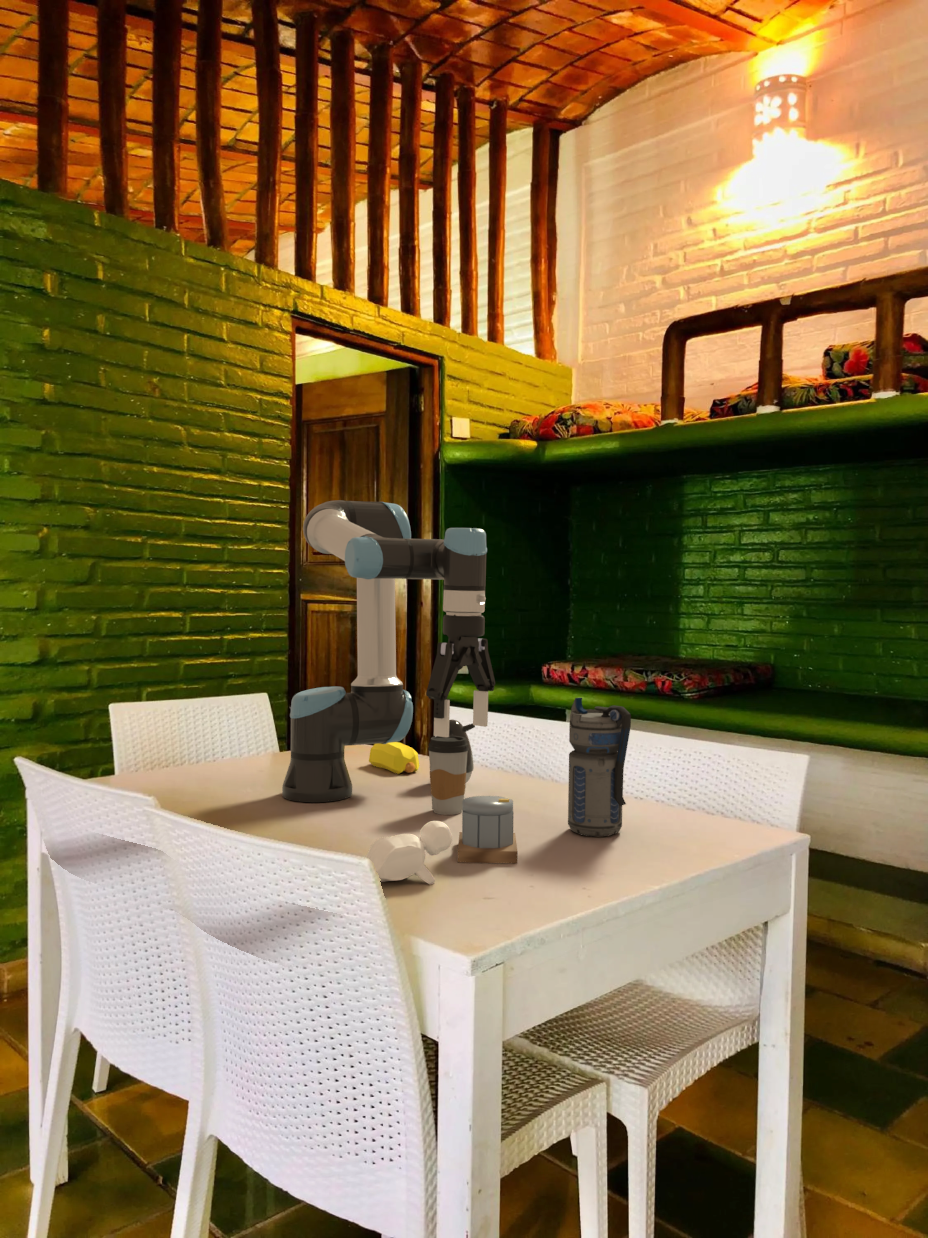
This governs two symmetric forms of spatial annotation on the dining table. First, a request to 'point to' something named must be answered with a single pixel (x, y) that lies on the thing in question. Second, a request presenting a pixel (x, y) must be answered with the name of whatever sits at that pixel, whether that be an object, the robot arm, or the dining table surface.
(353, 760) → the dining table surface
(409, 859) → the white animal figurine
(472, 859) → the stud base
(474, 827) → the cap
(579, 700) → the beverage bottle
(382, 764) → the yellow faceted long part
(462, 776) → the coffee cup
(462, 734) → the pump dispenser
